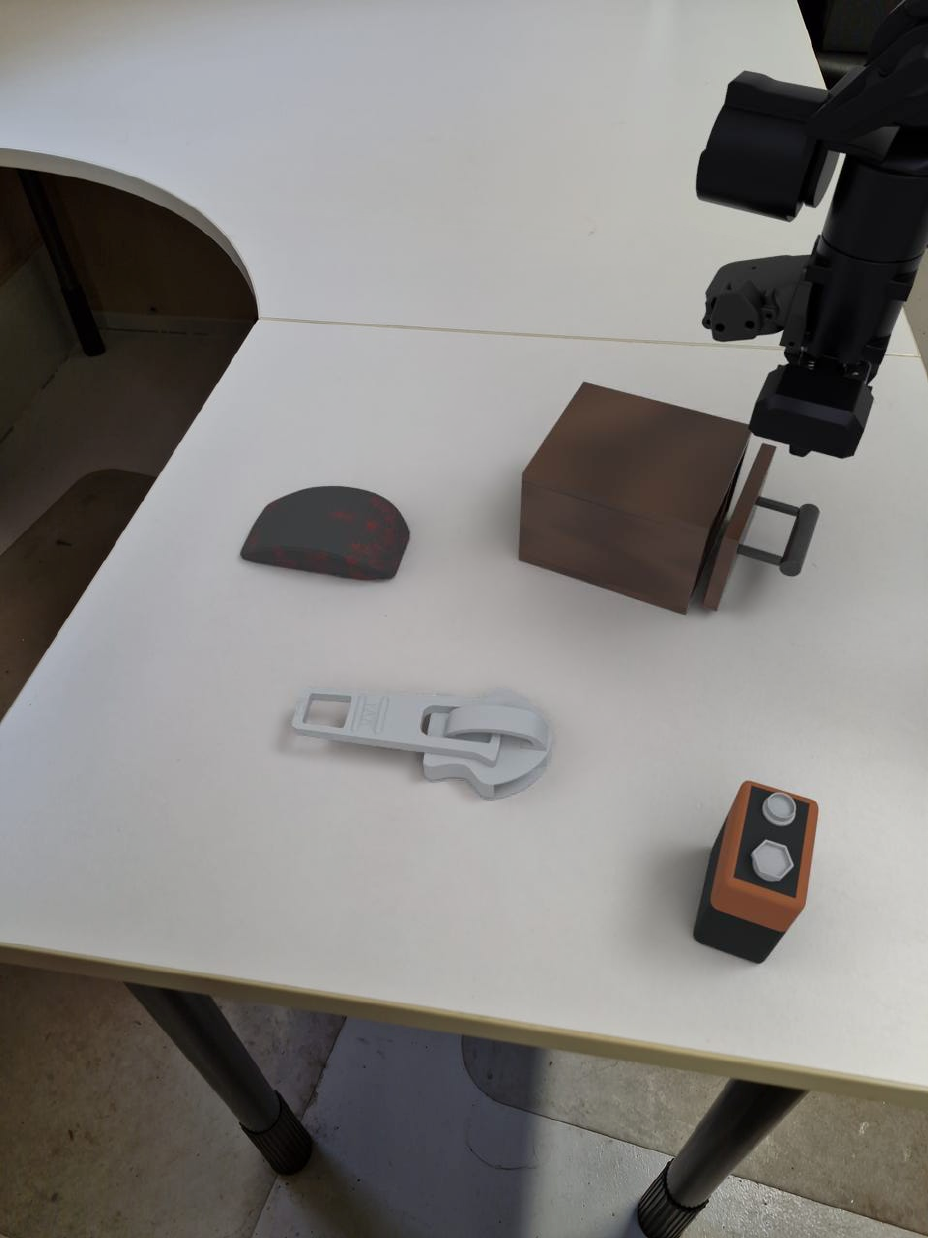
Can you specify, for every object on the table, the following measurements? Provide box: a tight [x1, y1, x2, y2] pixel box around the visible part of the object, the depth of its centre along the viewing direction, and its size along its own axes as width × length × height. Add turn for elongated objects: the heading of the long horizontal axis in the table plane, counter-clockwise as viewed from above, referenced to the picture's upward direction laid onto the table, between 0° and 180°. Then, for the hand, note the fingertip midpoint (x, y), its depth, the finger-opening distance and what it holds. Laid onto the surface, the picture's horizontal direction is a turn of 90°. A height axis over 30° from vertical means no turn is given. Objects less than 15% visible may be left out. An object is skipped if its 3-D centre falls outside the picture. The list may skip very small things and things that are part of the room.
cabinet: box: [518, 381, 753, 616], centre depth 71 cm, size 15×13×10 cm
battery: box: [692, 780, 820, 965], centre depth 50 cm, size 4×7×10 cm, turn 159°
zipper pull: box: [291, 686, 554, 801], centre depth 60 cm, size 8×18×4 cm, turn 83°
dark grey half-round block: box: [239, 485, 411, 580], centre depth 73 cm, size 8×14×4 cm, turn 77°
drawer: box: [699, 442, 821, 612], centre depth 69 cm, size 18×12×8 cm, turn 64°
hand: (797, 452), depth 61 cm, fingers closed
